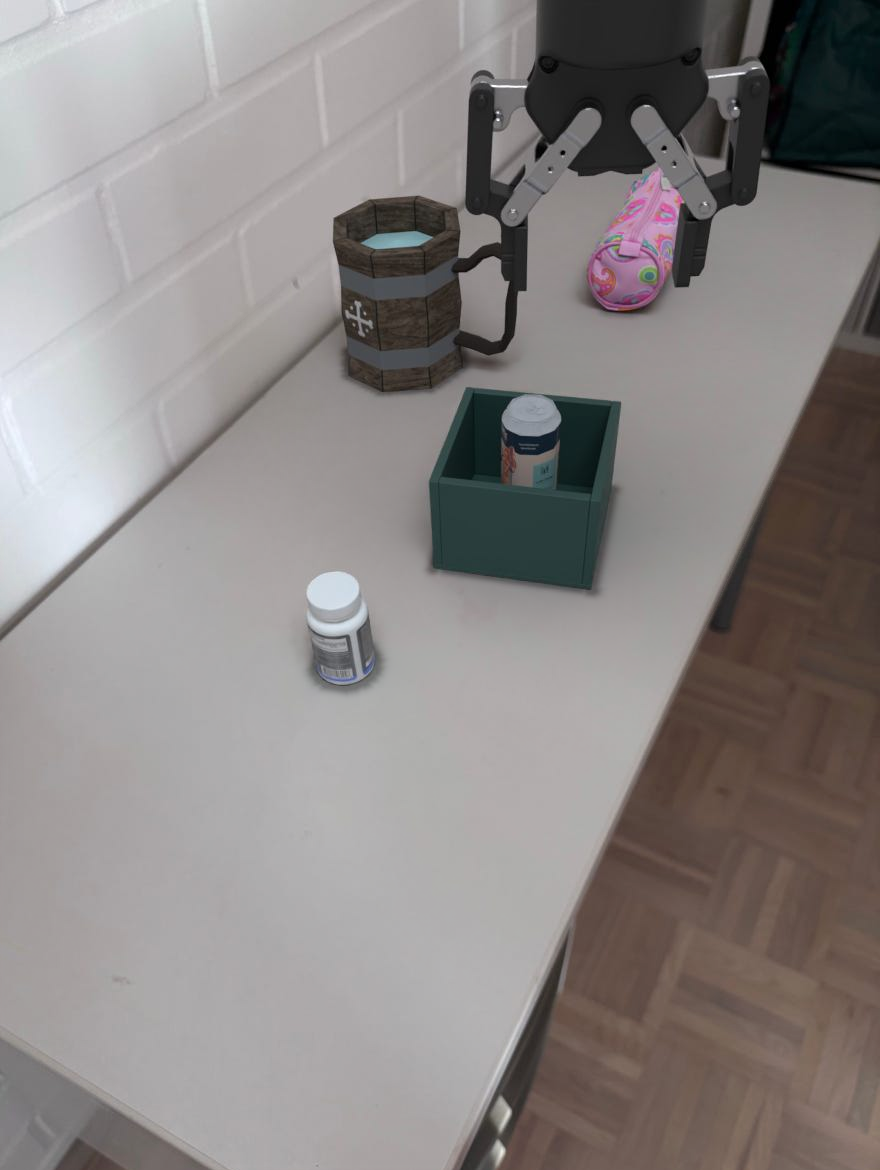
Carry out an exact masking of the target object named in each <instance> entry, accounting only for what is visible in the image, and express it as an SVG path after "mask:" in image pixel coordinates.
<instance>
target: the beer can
mask: <svg viewBox="0 0 880 1170" xmlns="http://www.w3.org/2000/svg"><path fill="white" fill-rule="evenodd" d="M560 431H561V415H560V413H559V411H558V410H557V408H556V406H555V404H554V402H553V400H551V399H549V398H547V397H544V396H542V395H530V394H525V395H522V396H520V397H517V398H514V399H512V401H511V402H510V404H509V405H508V407H507V409H506V410H505V411H504V413H503V415H502V435H501V484H508V485H516V486H525V487H533V488H542V489H551V490H557V476H558V461H559V446H560Z"/></svg>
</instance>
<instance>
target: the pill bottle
mask: <svg viewBox="0 0 880 1170" xmlns="http://www.w3.org/2000/svg"><path fill="white" fill-rule="evenodd" d="M305 596H306V600H307V607H306V611H305V621H306V625H307V629H308V630H307V631H308V635H309V637H310V638H309V639H310V644H311V649H312V655H313V658H314V664H315V667H316V670H317V673H318V674H319V676H320V677H321V678H322V679H323V680H325V681H326V682H328V683H329V684H334V685H339V686H347V685H352V684H355V683H358V682H360V681H361V680H364V679H365V678H366V677H367V676H368V675H370V673H371V672H372V671H373V668H374V666H375V660H376V659H375V656H376V655H375V650H374V648H375V647H374V642H373V634H372V627H371V621H370V614H369V613H370V612H369V606H368V603H367V602H366V600H365V599H364V597H363V596H362V592H361V586H360V584H359V582H358V580H357V578H356V577H354V575H352V574H349V573H347V572H344V571H338V570H337V571H336V570H335V571H327V572H324V573H322V574H319V575H317V576H316V577H314V578H313V579H312V580H311V581H310V583H308V586H307V587H306V595H305Z"/></svg>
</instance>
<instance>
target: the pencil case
mask: <svg viewBox="0 0 880 1170" xmlns="http://www.w3.org/2000/svg"><path fill="white" fill-rule="evenodd" d="M680 203H685V202H684V200H683V199H682V197H681V196H680V194H679V193H678V191H677V190H676V189H674V188H673V186H672V185H671V183H670V182H669V180H668V179H667V177H666V176H665V174H664V173H663V171H662V170H661V168H660V167H659V166H658V168H657V170H654V171H652V172H649V173H647V174H645V175H644V176H642V177H640V178H638V180H634V181H633V183H631V186H630V188H629V190H628V191H627V193H626V195H625V198H624V202H623V205H622V206H621V207H620V209H619V210H618V212H617V214H616V216H615V218H614V220H613V222H611V223H610V225H609V226H608V228H607V229H606V230H605V231H604V232H603V233H602V235H601V237H599V239H598V241H597V242H596V245H595V248H594V250H593V252H591V255H590V257H589V260H588V263H587V268H586V281H587V285H588V288H589V291H590V292H591V295H592V296H593V297H594V298H595V300H596V301H597V302H598V303H599V304H600V305H601V306H602V307H603V308H605V309H607V310H610V311H617V312H622V311H631V310H636V309H640V308H642V307H644V306H646V305H648V304H649V303H651V302H652V301H654V300H655V298H657V296H658V295H659V294H660V292H661V291H662V288H663V285H664V283H665V282H666V280H667V279H668V277H669V276H670V274H672V263H673V255H674V248H675V240H676V233H677V225H678V218H679V210H680Z"/></svg>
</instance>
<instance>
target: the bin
mask: <svg viewBox="0 0 880 1170" xmlns="http://www.w3.org/2000/svg"><path fill="white" fill-rule="evenodd" d="M525 394H530V395H542V396H544V397H547V398H549V399H551V400H553V402H554V404H555V406H556V408H557V410H558V411H559V413H560V415H561V431H560V446H559V461H558V476H557V490H551V489H542V488H533V487H525V486H516V485H508V484H501V435H502V415H503V413H504V411H505V410H506V409H507V407H508V405H509V404H510V402H511V401H512V399H514V398H517V397H520V396H522V395H525ZM621 410H622V401H618V400H609V399H608V400H607V399H598V398H586V397H576V396H565V395H554V394H547V393H534V392H524V391H523V392H522V391H513V390H502V389H493V388H482V387H471V386H466V387H465V389H464V391H463V394H462V396H461V399H460V402H459V404H458V407H457V410H456V411H455V414H454V416H453V419H452V422H451V424H450V427H449V429H448V432H447V435H446V437H445V440H444V441H443V445H442V446H441V450H440V452H439V455H438V457H437V460H436V462H435V465H434V466H433V470H432V471H431V472H432V473H431V475H430V478H429V480H428V489H429V491H428V492H429V507H430V508H429V511H430V525H431V526H430V527H431V544H432V546H431V547H432V561H433V562H432V563H433V568H434V569H439V570H446V571H453V572H460V573H467V574H475V575H482V576H489V577H496V578H504V579H509V580H511V579H512V580H518V581H526V582H533V583H540V584H547V585H555V586H562V587H570V588H577V589H584V590H589V591H591V590H592V587H593V583H594V577H595V572H596V567H597V562H598V558H599V552H600V548H601V543H602V537H603V532H604V527H605V523H606V519H607V513H608V508H609V503H610V499H611V493H612V487H613V479H614V470H615V463H616V454H617V446H618V444H617V443H618V435H619V426H620V417H621V412H622V411H621Z"/></svg>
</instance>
